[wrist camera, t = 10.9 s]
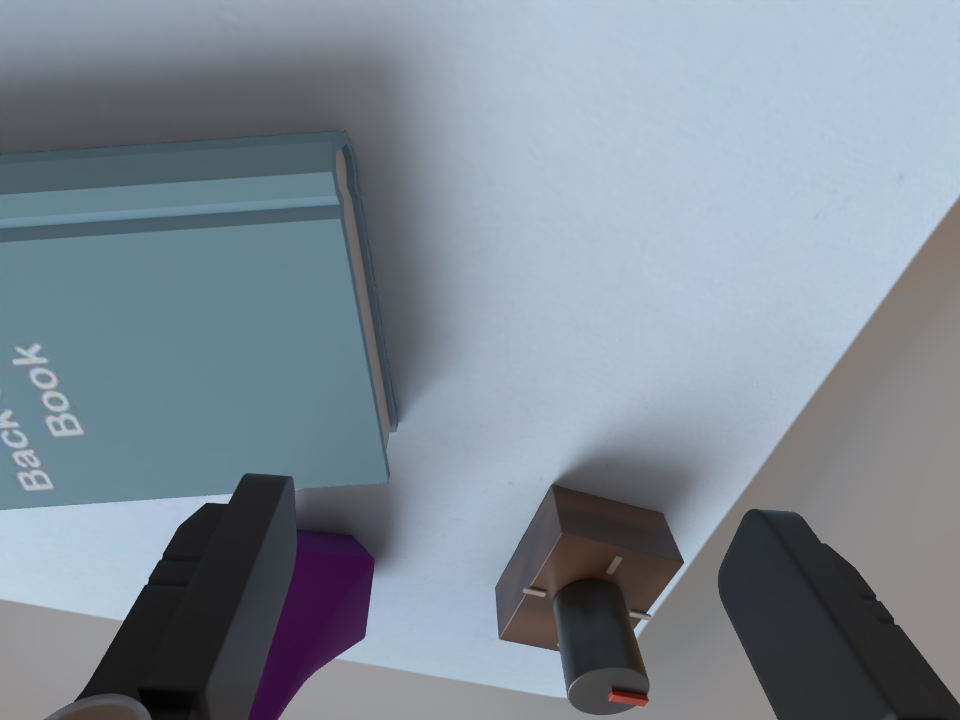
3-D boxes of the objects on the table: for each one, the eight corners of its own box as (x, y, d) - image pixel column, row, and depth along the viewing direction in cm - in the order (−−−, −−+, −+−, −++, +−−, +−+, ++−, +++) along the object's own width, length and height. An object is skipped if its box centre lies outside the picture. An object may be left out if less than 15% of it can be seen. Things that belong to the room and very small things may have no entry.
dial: (542, 619, 36) (555, 715, 30) (568, 573, 34) (588, 666, 28) (605, 631, 36) (629, 726, 31) (635, 586, 34) (666, 680, 29)
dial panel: (547, 483, 35) (557, 533, 32) (667, 514, 37) (690, 565, 33) (491, 586, 40) (494, 640, 36) (600, 610, 42) (614, 665, 38)
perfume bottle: (262, 586, 39) (130, 951, 23) (262, 506, 36) (105, 872, 20) (371, 596, 40) (314, 954, 24) (381, 519, 36) (322, 879, 21)
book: (8, 451, 33) (-61, 514, 28) (-161, 163, 25) (-293, 188, 21) (397, 424, 33) (388, 482, 28) (349, 127, 25) (326, 144, 21)
